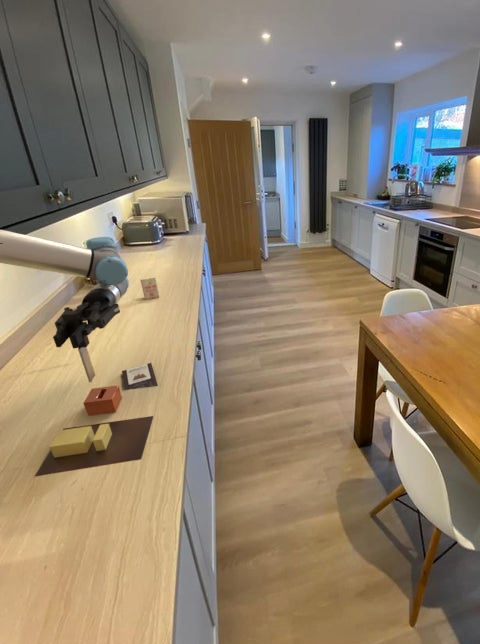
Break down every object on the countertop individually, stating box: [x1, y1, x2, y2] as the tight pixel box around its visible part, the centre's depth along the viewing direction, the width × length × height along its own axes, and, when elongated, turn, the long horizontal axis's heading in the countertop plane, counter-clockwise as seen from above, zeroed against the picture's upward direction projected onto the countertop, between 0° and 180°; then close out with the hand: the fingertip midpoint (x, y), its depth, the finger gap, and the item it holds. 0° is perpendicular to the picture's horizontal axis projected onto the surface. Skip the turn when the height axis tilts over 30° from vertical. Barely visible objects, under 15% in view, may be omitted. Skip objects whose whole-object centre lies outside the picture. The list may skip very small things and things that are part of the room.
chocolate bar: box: [121, 362, 159, 391], centre depth 101 cm, size 9×1×18 cm
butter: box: [49, 426, 95, 458], centre depth 77 cm, size 7×5×4 cm
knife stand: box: [83, 385, 123, 417], centre depth 90 cm, size 7×6×6 cm
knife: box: [61, 310, 96, 383], centre depth 79 cm, size 3×3×19 cm
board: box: [34, 415, 154, 478], centre depth 79 cm, size 22×14×2 cm, turn 102°
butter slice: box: [93, 424, 112, 451], centre depth 78 cm, size 2×5×4 cm, turn 12°
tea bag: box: [140, 277, 160, 301], centre depth 162 cm, size 4×7×10 cm, turn 116°
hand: (66, 341), depth 72 cm, fingers closed on knife, 3 cm apart
